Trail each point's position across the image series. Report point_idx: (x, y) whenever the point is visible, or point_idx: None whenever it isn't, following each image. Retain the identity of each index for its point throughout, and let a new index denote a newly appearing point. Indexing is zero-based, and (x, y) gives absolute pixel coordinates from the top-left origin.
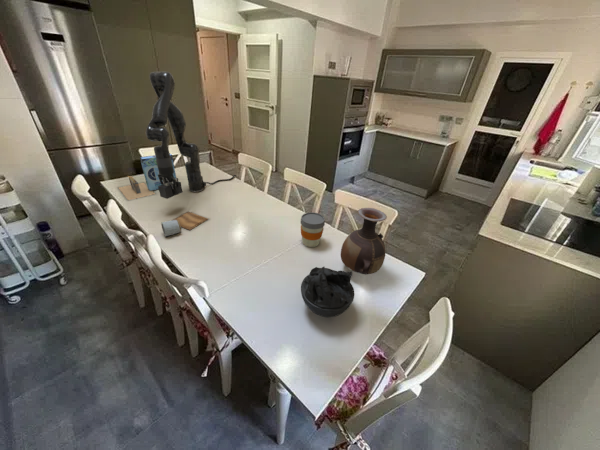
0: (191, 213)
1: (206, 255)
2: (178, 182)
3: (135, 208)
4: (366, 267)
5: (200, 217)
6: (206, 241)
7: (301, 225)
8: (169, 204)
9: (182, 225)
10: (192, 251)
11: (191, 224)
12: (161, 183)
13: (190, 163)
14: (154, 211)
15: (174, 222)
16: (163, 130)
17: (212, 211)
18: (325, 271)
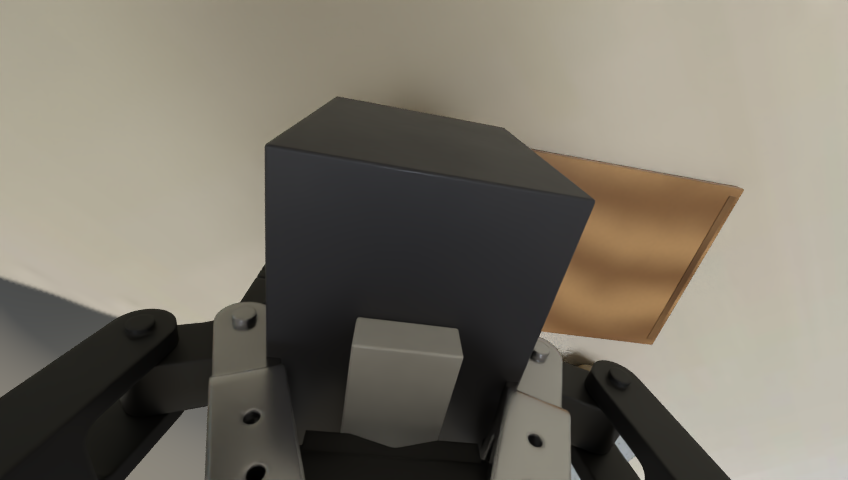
0: (569, 168)
1: (796, 445)
2: (546, 250)
3: (56, 259)
4: None
5: (673, 197)
6: (777, 381)
7: None
8: (229, 72)
9: (586, 327)
10: (725, 446)
11: (641, 299)
12: (162, 415)
13: None
14: (239, 241)
15: (630, 457)
16: None
17: (746, 31)
18: None
